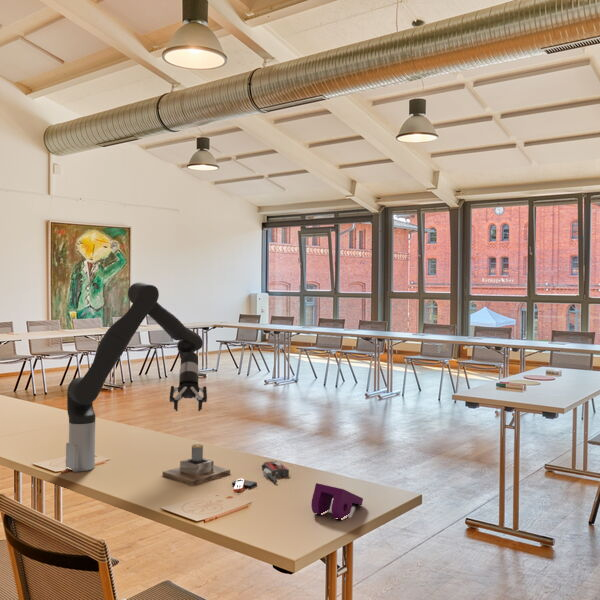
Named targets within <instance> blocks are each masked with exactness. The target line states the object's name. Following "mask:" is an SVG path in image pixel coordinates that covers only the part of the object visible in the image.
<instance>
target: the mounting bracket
mask: <svg viewBox="0 0 600 600" xmlns="http://www.w3.org/2000/svg"><path fill="white" fill-rule="evenodd" d="M363 502H364V498H363V497H361V496H359V495H356V494H354V493H353V492H350V491H348V490H346V489H344V488H340V487H336V486H335V487H334V486H330V485H327V484H322V483H315V485H314V491H313V494H312V497H311V510H312V513H313V514H315V513H318V514H321V513H323V512H325V511H327V510H328V509H329V510H330V508H331V515H332V517H334V518H338V519H341V518H343V517H344V516H346V515H348V514H349V513H350V514H351V511H352V507H353V505H355V504H358V505H357V506H359V505H363ZM352 503H354V504H352ZM318 514H317V515H318ZM350 514H349V515H350ZM334 518H333V519H334Z"/></svg>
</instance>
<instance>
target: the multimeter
mask: <svg viewBox="0 0 600 600" xmlns="http://www.w3.org/2000/svg"><path fill="white" fill-rule="evenodd" d="M231 484H232V485H233V488H232V489H233V493H235V492H236V491H239V492H238V494H240V493H241V492H240V491H242V492H243V491H244V487H245V489H248V488H251V489H253V488H255V487H256V485H258V482H257V481H252V480H246V479H245V478H237V479H236V480H235V481H232V482H231ZM232 485H231V486H232ZM254 486H255V487H254ZM252 487H253V488H252Z"/></svg>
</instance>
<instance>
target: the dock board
mask: <svg viewBox="0 0 600 600" xmlns="http://www.w3.org/2000/svg"><path fill="white" fill-rule="evenodd" d="M191 459H192V457H190V458H187V459H184V460H181V461H179V467H176V468H172V469H168V470H164V471H162V477H164V476H165V478H168V479H171V480H175V481H177V482H181V483H183V484H187V485H191V486H195V485H199V484H202V483H205V482H208V481H212V480H214V479H215V480H216V479H218V478H222V477H224V476H228V475H231V469H230V468H224V467H221V466H218V465H214V461H215V460H212V459H207V458H204V457H203V463H200V464H193V463H191Z"/></svg>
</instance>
